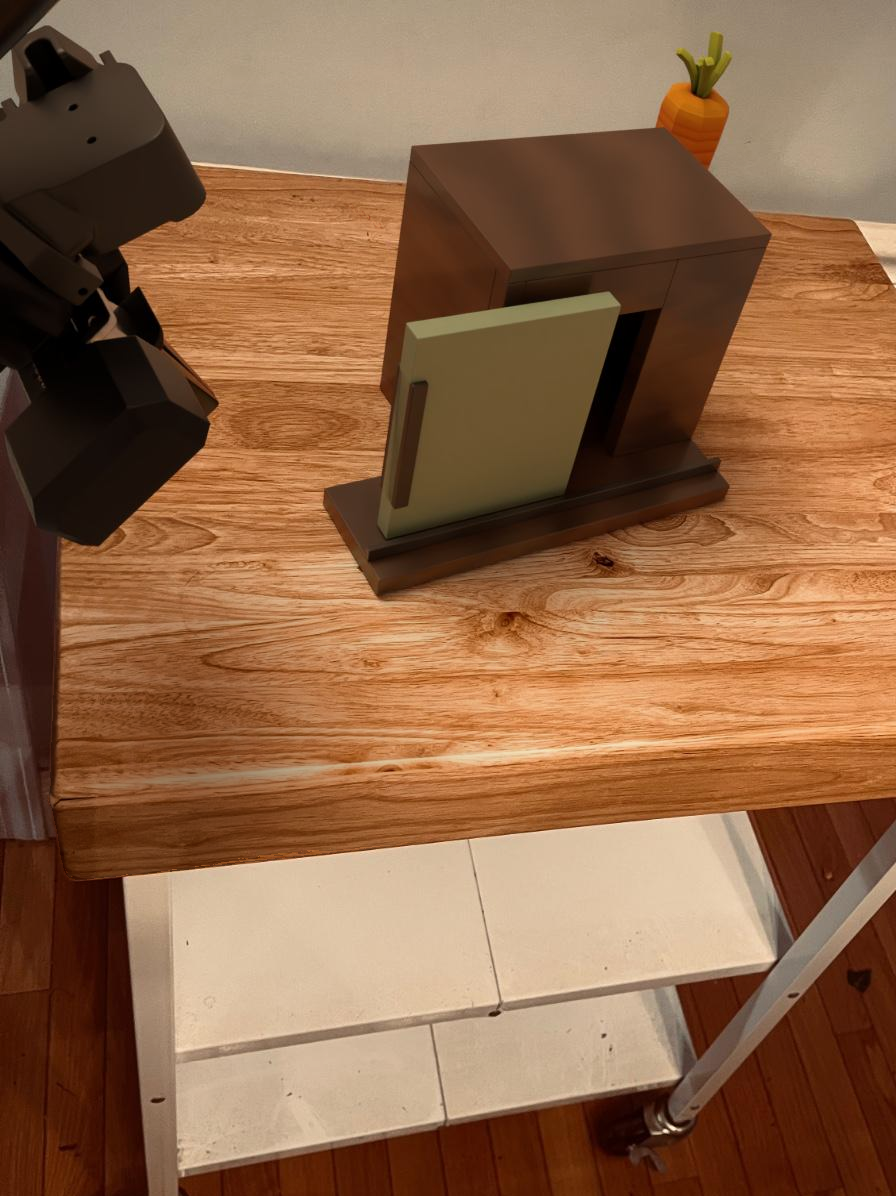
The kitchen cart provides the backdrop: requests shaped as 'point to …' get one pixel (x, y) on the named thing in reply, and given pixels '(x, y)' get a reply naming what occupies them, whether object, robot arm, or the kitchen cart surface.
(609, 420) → the cabinet
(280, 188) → the kitchen cart surface
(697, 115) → the carrot
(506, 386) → the door
